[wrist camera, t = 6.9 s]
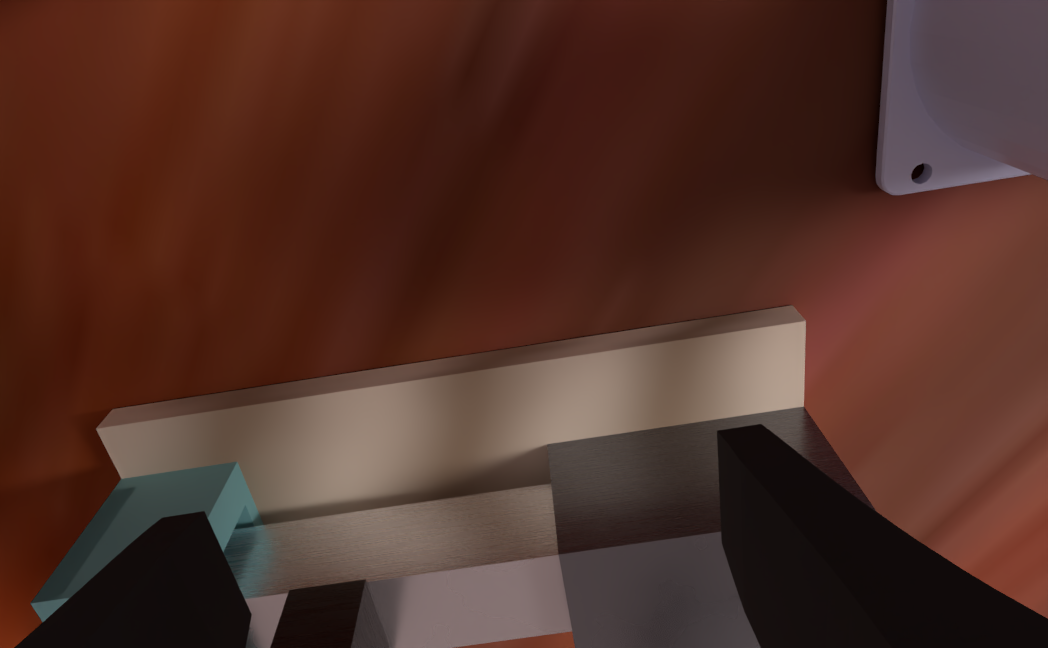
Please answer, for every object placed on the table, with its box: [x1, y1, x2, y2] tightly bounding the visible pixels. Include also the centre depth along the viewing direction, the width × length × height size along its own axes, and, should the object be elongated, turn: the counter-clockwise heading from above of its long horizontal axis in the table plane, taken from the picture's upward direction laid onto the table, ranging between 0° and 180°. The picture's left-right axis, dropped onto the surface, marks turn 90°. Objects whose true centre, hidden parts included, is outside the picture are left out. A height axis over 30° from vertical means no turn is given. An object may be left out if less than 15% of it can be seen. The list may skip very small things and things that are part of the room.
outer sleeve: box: [547, 406, 875, 648], centre depth 20 cm, size 8×4×4 cm, turn 99°
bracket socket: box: [30, 462, 264, 622], centre depth 20 cm, size 4×6×5 cm, turn 9°
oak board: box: [96, 305, 806, 525], centre depth 23 cm, size 20×10×1 cm, turn 99°
